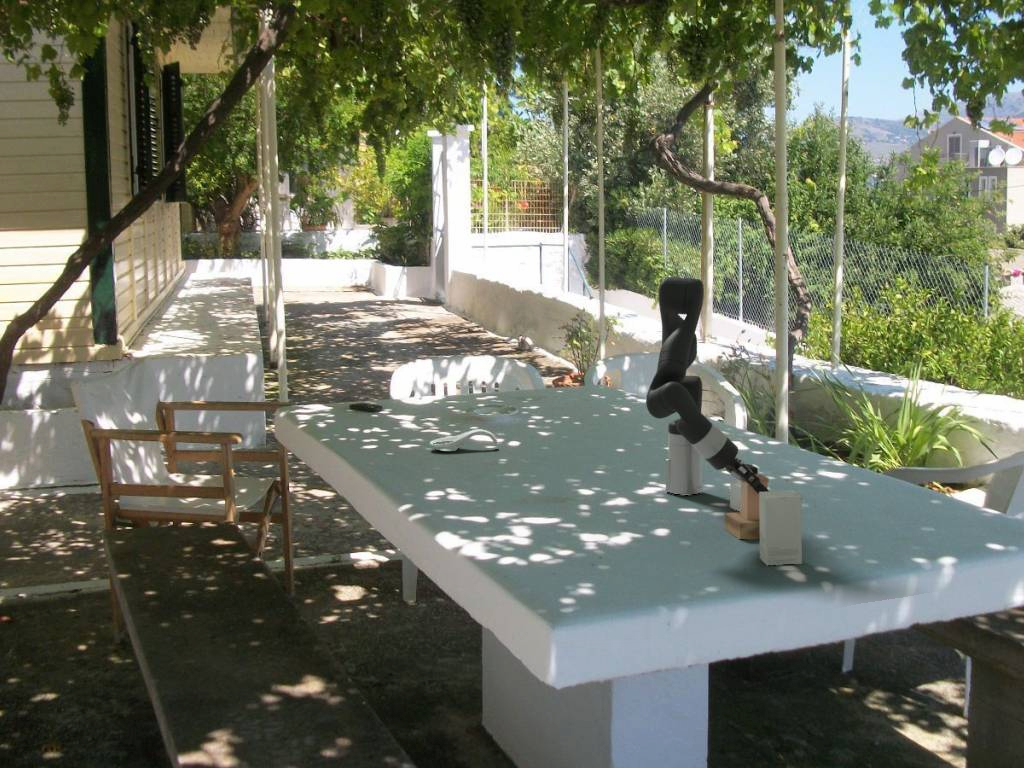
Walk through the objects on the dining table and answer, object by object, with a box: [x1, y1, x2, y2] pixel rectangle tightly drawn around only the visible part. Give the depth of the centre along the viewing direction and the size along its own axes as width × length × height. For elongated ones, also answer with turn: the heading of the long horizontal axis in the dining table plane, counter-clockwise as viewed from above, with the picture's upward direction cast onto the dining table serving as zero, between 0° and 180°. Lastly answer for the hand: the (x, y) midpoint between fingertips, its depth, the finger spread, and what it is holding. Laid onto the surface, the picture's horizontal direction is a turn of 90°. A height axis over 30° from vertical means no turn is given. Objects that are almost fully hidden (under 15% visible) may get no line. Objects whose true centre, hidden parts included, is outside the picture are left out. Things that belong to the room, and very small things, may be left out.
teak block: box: [724, 511, 760, 540], centre depth 290 cm, size 11×11×4 cm
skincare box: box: [759, 489, 803, 567], centre depth 263 cm, size 8×7×16 cm
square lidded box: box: [741, 473, 770, 520], centre depth 289 cm, size 5×5×10 cm
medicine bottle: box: [729, 463, 761, 512], centre depth 314 cm, size 7×7×12 cm
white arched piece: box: [429, 428, 499, 447], centre depth 411 cm, size 24×12×7 cm, turn 94°
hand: (759, 490), depth 289 cm, fingers open, 8 cm apart
